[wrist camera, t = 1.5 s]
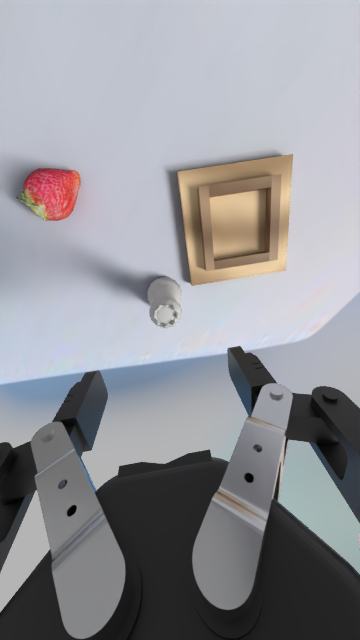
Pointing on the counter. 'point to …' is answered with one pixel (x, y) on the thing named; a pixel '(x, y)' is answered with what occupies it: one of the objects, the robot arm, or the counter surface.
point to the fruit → (51, 193)
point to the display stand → (236, 218)
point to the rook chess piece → (165, 302)
